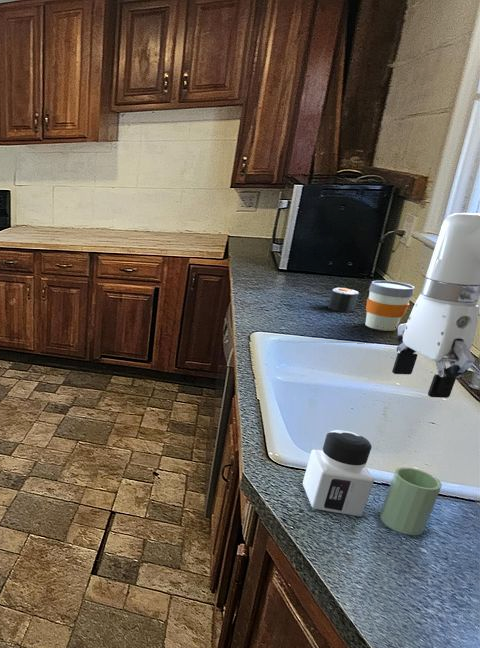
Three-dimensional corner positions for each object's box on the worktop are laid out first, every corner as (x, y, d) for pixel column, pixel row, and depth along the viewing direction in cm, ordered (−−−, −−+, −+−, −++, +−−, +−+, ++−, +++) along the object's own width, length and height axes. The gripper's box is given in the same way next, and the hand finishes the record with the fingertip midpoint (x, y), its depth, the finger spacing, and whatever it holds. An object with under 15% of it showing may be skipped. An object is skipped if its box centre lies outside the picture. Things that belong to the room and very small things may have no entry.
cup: (407, 512, 91) (423, 467, 87) (432, 536, 85) (451, 489, 82) (371, 511, 91) (387, 467, 88) (394, 534, 85) (412, 488, 82)
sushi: (344, 313, 199) (349, 292, 196) (323, 307, 206) (328, 287, 203) (358, 310, 202) (363, 290, 199) (337, 305, 209) (342, 285, 206)
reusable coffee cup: (357, 319, 193) (369, 278, 187) (399, 324, 187) (412, 283, 182) (361, 328, 183) (373, 286, 177) (404, 334, 177) (418, 291, 171)
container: (362, 518, 89) (384, 452, 84) (311, 509, 91) (330, 444, 86) (348, 491, 96) (368, 429, 91) (301, 483, 98) (318, 422, 93)
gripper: (518, 306, 79) (478, 407, 86) (437, 279, 95) (409, 366, 102) (465, 305, 80) (430, 406, 86) (394, 278, 96) (368, 365, 102)
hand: (418, 384), depth 94 cm, fingers open, 9 cm apart
